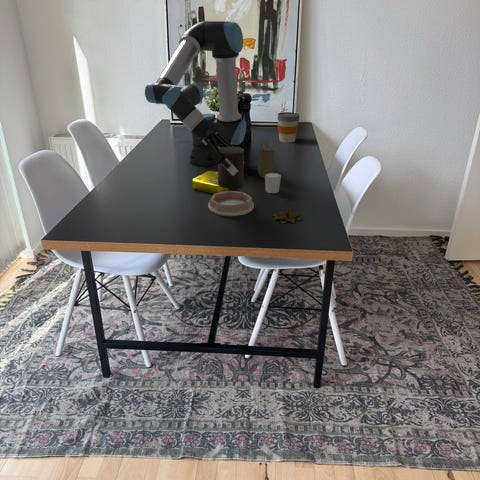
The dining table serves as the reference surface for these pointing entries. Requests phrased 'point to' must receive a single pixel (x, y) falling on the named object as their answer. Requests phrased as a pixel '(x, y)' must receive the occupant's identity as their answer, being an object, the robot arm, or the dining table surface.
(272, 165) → the squeeze bottle
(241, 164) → the pillar candle
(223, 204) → the pink round shallow dish
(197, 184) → the yellow square box
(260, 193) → the dining table surface
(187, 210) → the dining table surface
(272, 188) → the shot glass
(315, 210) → the dining table surface
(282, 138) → the reusable coffee cup
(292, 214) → the succulent plant
